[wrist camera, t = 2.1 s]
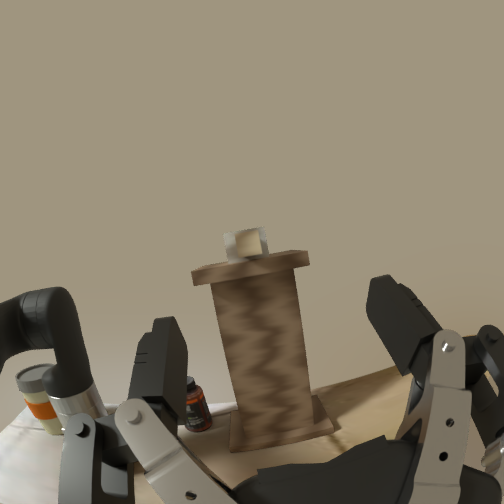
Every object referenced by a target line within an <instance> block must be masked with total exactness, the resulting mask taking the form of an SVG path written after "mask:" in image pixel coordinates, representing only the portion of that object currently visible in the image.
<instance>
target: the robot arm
mask: <svg viewBox="0 0 504 504" xmlns="http://www.w3.org/2000/svg"><path fill="white" fill-rule="evenodd" d="M366 312H367V316H368V319H369V320H370V322H371V324H372V325H373V327H374V329H375V330H376V332H377V334H378V335H379V337H380V339H381V340H382V342H383V344H384V345H385V347H386V349H387V350H388V352H389V354H390V355H391V357H392V359H393V361H394V362H395V364H396V366H397V368H398V370H399V371H400V373H401V375H402V376H404V375H407V374H409V373H412V374H413V376H414V377H413V379H412V383H411V388H410V393H409V398H408V402H407V407H406V411H405V415H404V418H403V421H402V423H401V425H400V427H399V429H398V432H397V434H396V437H395V440H386V438H385V435H382V436H380V437H377V438H375V439H372V440H370V441H367V442H364V443H362V444H359V445H356V446H354V447H353V448H351V449H349V450H348V451H346V452H344V453H343V454H341V455H339V456H338V457H336V458H334V459H332V460H330V461H329V462H326V463H314V464H287V465H281V466H276V467H270V468H264V469H257V472H258V475H256V476H253V477H251V478H249V479H247V480H245V481H243V482H242V483H240V484H238V485H237V486H236V487H235V488H233V489H231V488H230V487H229V486H228V485H227V484H226V483H224V482H223V481H222V480H221V479H220V478H219V477H218V476H217V475H216V474H214V473H213V472H212V471H211V470H210V469H209V468H208V467H207V466H206V465H205V464H204V463H203V462H202V461H201V460H200V459H199V458H198V457H197V456H196V455H195V454H194V453H193V452H192V451H191V450H190V448H189V447H188V446H187V445H186V444H185V443H184V442H183V441H182V439H181V438H180V437H179V436H178V435H177V432H178V425H187V365H188V351H187V345H186V342H185V340H184V337H183V336H182V333H181V331H180V328H179V326H178V324H177V321H176V319H175V318H174V317H173V316H172V317H164V318H156V319H155V320H154V323H153V328H152V332H149V333H145V334H144V335H143V337H142V339H141V340H140V341H139V343H138V347H137V352H136V357H135V361H134V363H135V365H134V367H133V372H132V378H131V383H130V388H129V394H128V399H127V400H126V401H124V402H123V403H122V404H120V405H119V407H118V408H117V410H116V412H115V413H114V414H111V415H108V413H107V411H106V409H105V407H104V404H103V402H102V400H101V397H100V395H99V393H98V390H97V388H96V385H95V383H94V380H93V377H92V374H91V371H90V365H89V359H88V355H87V352H86V348H85V344H84V340H83V336H82V332H81V327H80V322H79V318H78V313H77V310H76V306H75V304H74V301H73V299H72V297H71V295H70V294H69V292H68V291H67V290H66V289H65V288H62V287H51V288H46V289H40V290H35V291H29V292H26V293H23V294H21V295H19V296H17V297H14V298H12V299H10V300H7V301H5V302H2V303H0V373H1V371H2V368H3V366H4V363H5V361H6V360H7V359H8V358H10V357H12V356H14V355H16V354H18V353H21V352H24V351H28V350H36V349H52V348H54V351H55V356H56V361H57V364H56V365H54V366H52V367H50V368H49V369H47V370H46V371H45V372H44V373H43V375H42V383H43V386H44V388H45V391H46V393H47V395H48V397H49V400H50V402H51V404H52V406H53V408H54V410H55V412H56V414H57V416H58V418H59V420H60V422H61V424H62V426H63V427H62V432H63V434H64V441H63V448H62V456H61V465H60V477H59V495H58V504H135V495H134V462H137V461H139V462H140V463H141V465H142V466H143V468H144V469H145V473H144V475H145V478H146V479H147V481H148V482H149V484H150V485H151V486H152V488H153V489H154V490H155V492H156V493H157V494H158V495H159V496H160V498H161V499H162V500H163V501H164V503H165V504H501V501H502V496H504V335H503V333H502V332H501V331H500V330H499V329H498V328H496V327H495V326H492V325H484V326H483V327H481V329H480V330H479V332H478V334H477V335H476V336H468V337H461V336H460V335H459V334H458V333H457V332H455V331H452V330H443V329H442V327H441V326H440V325H439V324H438V322H437V321H436V320H435V318H434V317H433V316H432V315H431V313H430V312H429V311H428V310H427V309H426V307H425V306H423V304H422V302H421V301H420V300H419V299H417V296H416V295H415V294H414V293H413V292H412V291H411V289H409V288H407V287H406V286H404V285H403V284H401V283H400V284H397V283H396V282H395V280H394V279H393V278H392V277H391V276H390V275H383V276H379V277H375V278H372V279H371V281H370V286H369V292H368V298H367V303H366ZM487 369H488V371H489V373H490V374H491V376H492V378H493V379H494V381H495V383H496V385H497V386H498V389H499V394H498V397H497V395H496V394H495V392H494V390H493V388H492V387H491V385H490V383H489V381H488V380H487V378H486V376H485V374H484V373H485V372H486V371H487ZM470 415H471V417H472V419H473V421H474V423H475V425H476V427H477V429H478V432H479V434H480V436H481V439H482V441H483V444H484V446H485V448H486V451H485V455H484V456H483V458H482V460H481V464H482V466H483V467H486V469H485V472H482V471H479V470H477V469H474V468H471V467H468V466H466V465H464V464H463V461H464V456H465V451H466V446H467V439H468V432H469V424H470Z"/></svg>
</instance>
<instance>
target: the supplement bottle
mask: <svg viewBox="0 0 504 504" xmlns="http://www.w3.org/2000/svg"><path fill="white" fill-rule="evenodd" d="M211 424H212V418H211V415H210V412H209V409H208V406H207V403H206V400H205V397H204V394H203V390H202V389H201V387H200V386H198V385H195V381H194V378H193V377H190V376H187V425H185V427H186V429H188V430H189V431H193V432H198V431H203V430H205V429H207V428H209V427H210V426H211Z"/></svg>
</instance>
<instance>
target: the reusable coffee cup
mask: <svg viewBox="0 0 504 504" xmlns="http://www.w3.org/2000/svg"><path fill="white" fill-rule="evenodd" d="M52 366H54V364H39V365H34V366H31V367H28V368H26V369H23V370H21V371H20V372H19V373H17V374H16V376H15V378H16V381H17V385H18V388H19V390H20V391H21V392H22V394H23V395H24V397H25V401H26V403H27V405H28V407H29V408H30V410H31V412H32V413H33V415H34V416H35V417H36V418H38V420H39V421H40V423H41V424H42V426H43V427H44V429H45V430H46V432H47V433H49V434H51V435H61V434H63V432H62V427H63V426H62V424H61V422H60V420H59V418H58V416H57V414H56V412H55V410H54V408H53V406H52V404H51V402H50V400H49V397H48V395H47V393H46V391H45V388H44V386H43V383H42V375H43V373H44V372H45V371H46V370H47V369H49V368H50V367H52Z"/></svg>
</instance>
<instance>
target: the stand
mask: <svg viewBox="0 0 504 504" xmlns="http://www.w3.org/2000/svg"><path fill="white" fill-rule="evenodd" d="M308 265H310V263H309V257H308V251H301V250H289V251H284V252H279V253H273V254H269V257H264V258H259V259H253V260H248V261H242V262H236V263H231V264H228V262H223V263H217V264H211V265H205V266H202V267H200V268H198V269H195V270H193V271H192V272H191V274H192V279H193V284H194V286H197V285H203V284H209V283H210V285H211V290H212V295H213V300H214V305H215V310H216V315H217V320H218V325H219V329H220V334H221V338H222V343H223V347H224V352H225V356H226V361H227V365H228V369H229V373H230V377H231V382H232V385H233V390H234V393H235V397H236V402H237V405H238V409H239V410H236V411H231V419H230V439H229V448H230V451H231V452H241V451H249V450H256V449H263V448H269V447H275V446H280V445H285V444H290V443H295V442H300V441H304V440H308V439H312V438H316V437H320V436H324V435H327V434H331V433H334V427H333V425H332V423H331V421H330V419H329V417H328V415H327V413H326V411H325V410H324V408H323V406H322V404H321V402H320V400H319V398H318V396H317V395H314V396H311V391H310V383H309V374H308V366H307V358H306V350H305V344H304V336H303V329H302V322H301V315H300V308H299V302H298V295H297V289H296V282H295V276H294V270H293V268H298V267H303V266H308Z"/></svg>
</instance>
